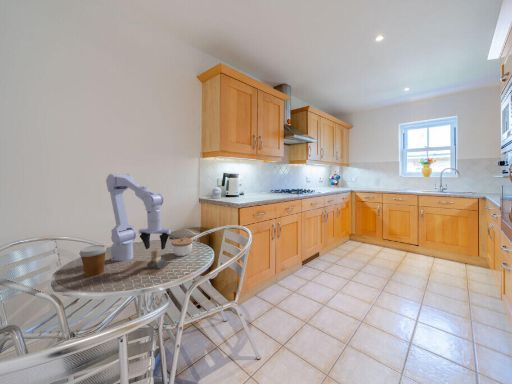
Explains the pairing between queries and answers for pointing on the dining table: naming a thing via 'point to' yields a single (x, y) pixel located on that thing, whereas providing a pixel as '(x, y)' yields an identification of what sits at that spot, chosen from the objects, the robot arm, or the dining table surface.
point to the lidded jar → (182, 246)
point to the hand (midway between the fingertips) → (155, 248)
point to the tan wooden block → (155, 255)
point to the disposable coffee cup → (93, 259)
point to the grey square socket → (156, 264)
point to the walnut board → (141, 269)
